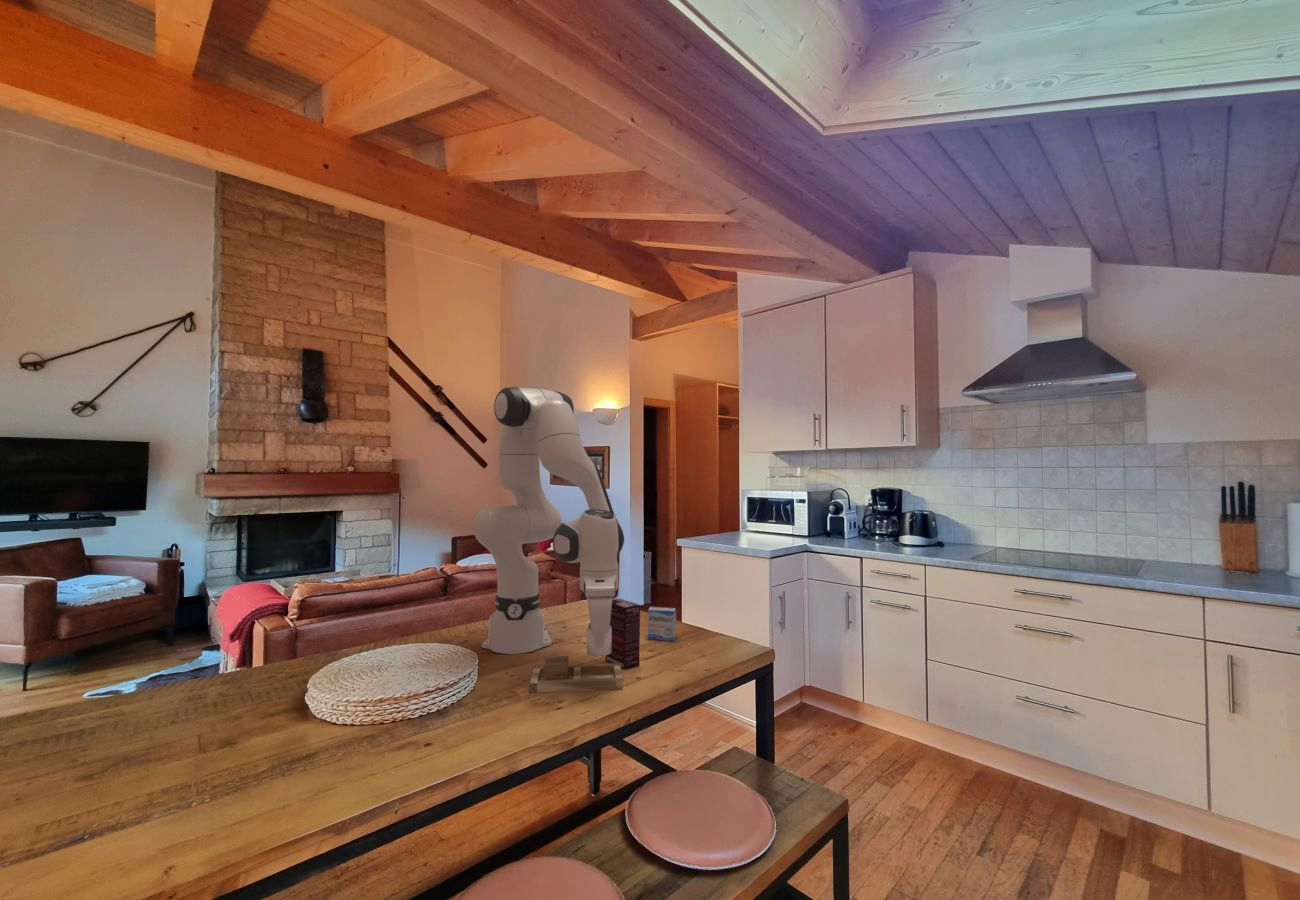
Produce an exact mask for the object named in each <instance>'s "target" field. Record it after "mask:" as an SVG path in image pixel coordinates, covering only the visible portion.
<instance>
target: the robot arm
mask: <svg viewBox="0 0 1300 900" xmlns="http://www.w3.org/2000/svg"><path fill="white" fill-rule="evenodd" d="M493 410H494V416H495V418H496V419H497V421H498V422H499V423H500V424H501V425H502V427H501V428H502V429H501V433H500V439H499V449H498V450H499V452H498V454H499V455H498V463H499V464H498V479H499V483H500V485H501V486H502V487H503V488H504V489H506V490H508V491H509V492H510V493H512V495H513V496H514V500H515V503H516V504H512V505H509V504H508V505H496V506H492V507H487V508H484V509H481V510H479V512H478V513H477V515H475V517H474V521H473V524H472V531H473V535H474V537H475V539H476V540H477V542H478V543H479V544H480V545H482V546H483V547H484V548H485V549H487V550H488V551H489V553H490V554H491V556H492V557H493V561H494V563H495V566H496V568H495V569H496V577H497V578H496V580H497V581H496V583H497V584H496V585H497V594H496V595H495V601H494V605H495V611H494V612H493V613H491V615H490V616H489V621H488V634H487V635H488V637H487V639H485V640H484V641H483V642H482V643H481V648H483V649H488V650H490V651H491V652H495V653H499V654H502V655H503V654H506V655H507V654H508V655H514V654H515V655H516V654H517V655H518V654H525V653H530V652H534V651H537V650H539V649H541V648H545V647H550V646H552V639H551V637H550V635H549V633H548V630H547V627H546V625H545V615H544V614H543V612H542V610H540V605H541V604H540V603H541V596H540V592H539V567H538V564H537V563H536V562H535V561H534V560H533V559H531V558H529V557H528V556H526V555H525V554H524V552H523V545H525V544H534V543H542V542H544V541H545V542H546V541H549V540H551V539H552V548H553V552H554V554H555V556H556V557H557V558H558V560H560V561H561V562H563V563H569V564H574V563H575V564H576V563H580V567H579V590H580V591H582V592H583V593H584V596H585V598H586V600H587V604H588V605H587V606H588V613H589V623H590V624H591V631H592V633H593V634H595V647H596V648H603V647H604V634H605V633H608V631H609V627H610V619H611V608H612V600H613V598H614V597H615V596H616V591H617V590H618V589H619V583H620V582H619V572H620V571H619V562H618V555H619V554H620V552H621V551H622V550H623V547H624V544H625V534H624V532H623V531H624V530H623V529H622V526H621V524H620V523H619V520H618V519H617V517H616V514H615V513H614V510H613V506H612V503H611V501H610V497H609V495H608V491H607V488H606V486H605V483H604V480H603V478H602V476H601V475H602V474H601V472H600V470H599V468H598V466H597V464H596V463H595V462H594V461H593V460H592V459H591V458H590V457H589V455H588V453H587V452H586V449H585V447H584V445H583V442H582V439H581V435H580V434H581V433H580V430H579V425H578V422H577V419H576V416H575V414H574V412H575V408H574V404H573V399H572V398H571V397H570V396H568V395H567V394H566V393H563V392H560V391H552V390H549V389H544V388H538V387H537V388H535V387H534V388H533V387H532V388H531V387H530V388H529V387H517V386H508V387H504V388H502V389H500V390H499V392H498V393H497V394H496V396H495V399H494V403H493ZM540 463H541V464H542V467H544V469H545V470H546V471H548V473H550V474H552V475H553V476H555V477H558V478H560V479H564V480H565V481H568V482H570V483H572V484H573V485H575V486H577V487H578V488H579V489H580V490H581V491H582V493H583V495H584V498H585V500H586V502H587V503H586V504H587V506H588V509H586V510H584V511H583V512H582V513H581V515H580V516H579V517H578V518H576V519H574V520H572V521H570V522H566V523H562V516H561V514H560V512H559V510H558V509H557V508H556V507H555V506H554V505H553V504H552V503H551V502H550V501H549V500H548V499H547V496H546V494H545V492H544V490H543V487H542V483H541V482H542V481H541V472H540V471H541V469H540Z"/></svg>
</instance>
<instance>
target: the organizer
mask: <svg viewBox="0 0 1300 900" xmlns="http://www.w3.org/2000/svg"><path fill="white" fill-rule="evenodd" d="M532 670H533V671H532V673H531V678H530V682H529V694H540V693H541V694H544V693H545V694H548V693H565V692H566V693H569V692H570V693H571V692H573V693H574V692H591V691H593V692H594V691H597V692H598V691H617V690H618V691H619V690H623V689H624V688H623V687H624V686H623V685H624V679H623V678H624V677H623V674H622V668H621V667H620V663H616V664H612V663H593V664H568V679H565V680H544V678H545V665H537V666H536V665H535V666H533V669H532Z"/></svg>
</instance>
